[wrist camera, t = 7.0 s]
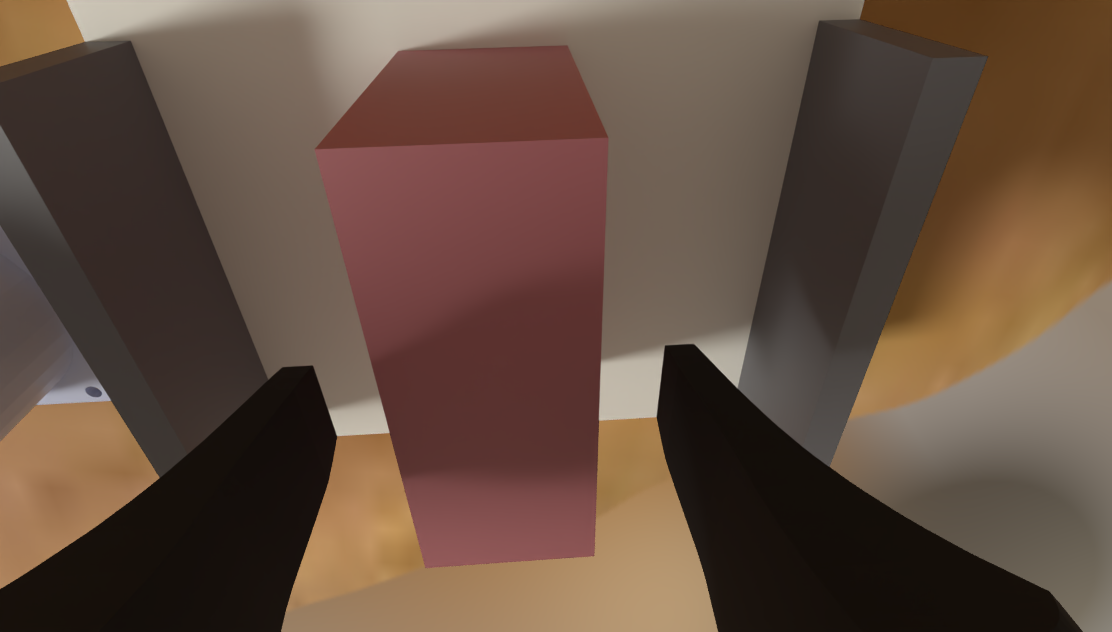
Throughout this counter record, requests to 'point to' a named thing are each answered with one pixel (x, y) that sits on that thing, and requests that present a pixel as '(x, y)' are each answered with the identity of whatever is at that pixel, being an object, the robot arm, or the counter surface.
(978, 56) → the grey open rack
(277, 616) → the robot arm
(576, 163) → the burgundy book
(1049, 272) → the counter surface
